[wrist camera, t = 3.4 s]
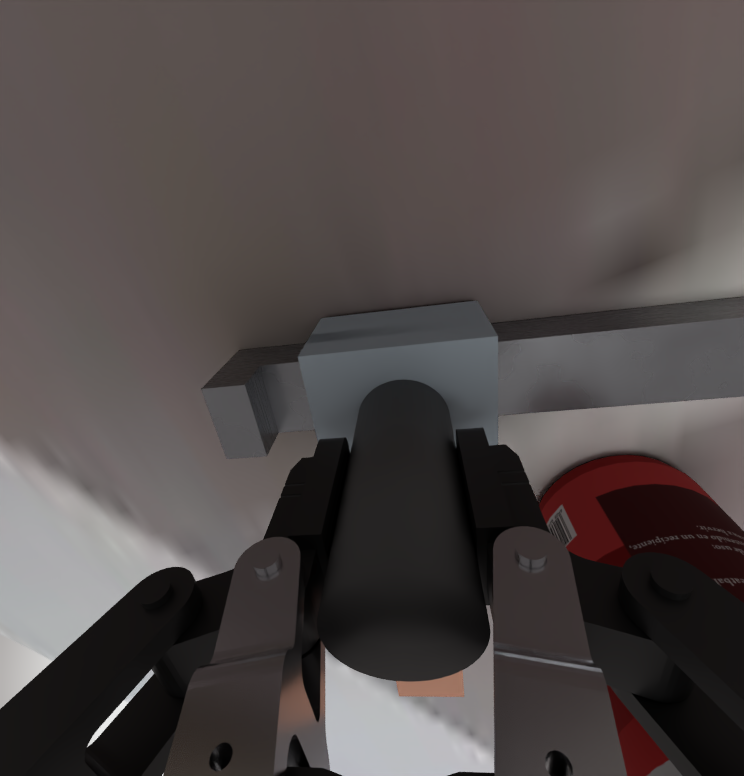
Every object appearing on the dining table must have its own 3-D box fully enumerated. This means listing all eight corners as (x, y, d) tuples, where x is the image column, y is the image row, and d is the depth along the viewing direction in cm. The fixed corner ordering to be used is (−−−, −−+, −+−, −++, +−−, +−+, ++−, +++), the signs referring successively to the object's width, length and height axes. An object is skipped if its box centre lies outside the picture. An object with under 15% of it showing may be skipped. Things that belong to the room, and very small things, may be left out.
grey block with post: (321, 318, 16) (191, 531, 6) (477, 300, 15) (601, 511, 6) (367, 549, 22) (336, 849, 12) (482, 545, 21) (549, 860, 11)
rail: (239, 350, 17) (201, 389, 14) (1102, 258, 13) (1318, 283, 10) (257, 411, 19) (226, 458, 15) (1047, 343, 15) (1224, 388, 12)
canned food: (561, 587, 22) (680, 900, 13) (503, 487, 20) (600, 791, 10) (713, 542, 20) (1000, 881, 10) (673, 422, 17) (1015, 733, 8)
